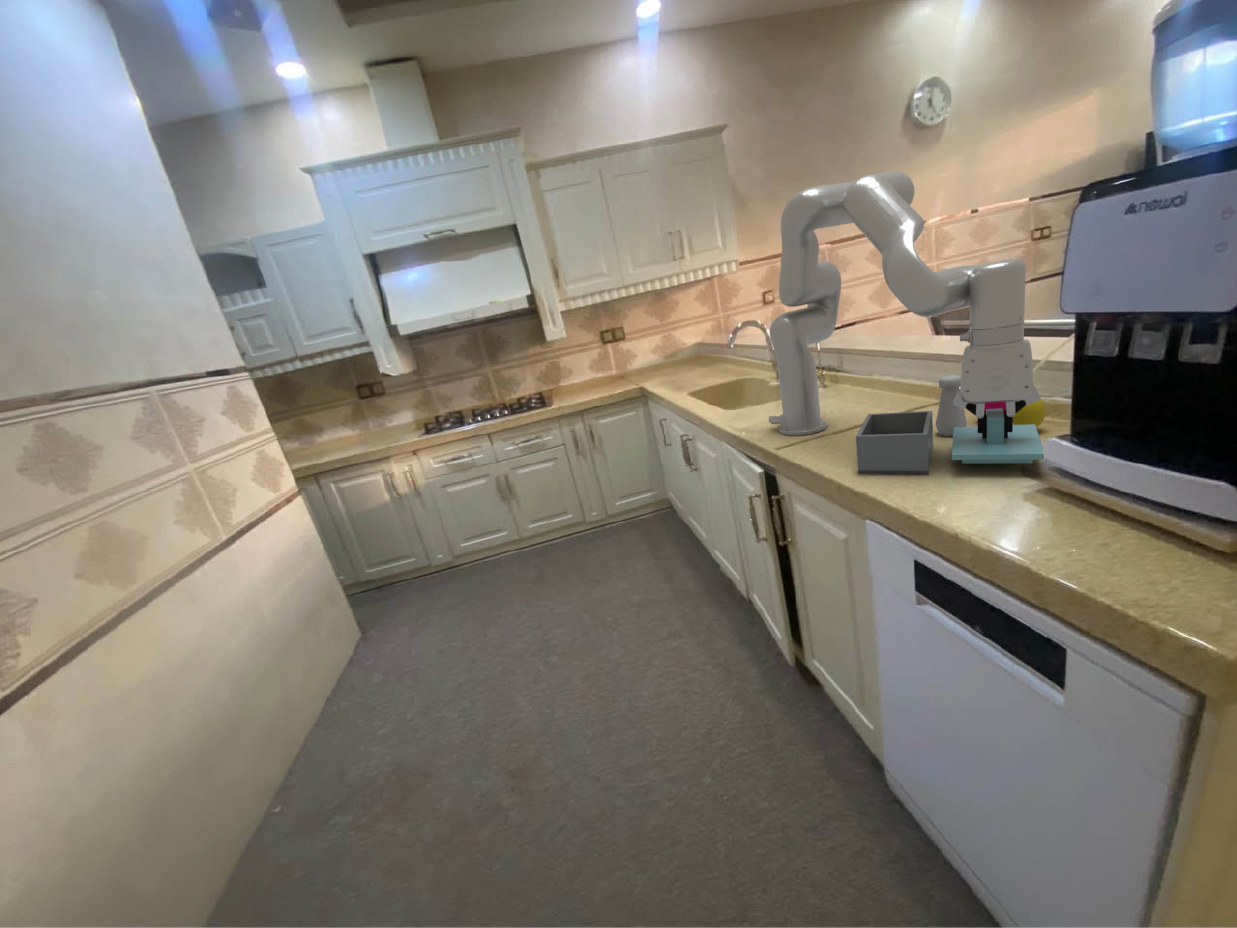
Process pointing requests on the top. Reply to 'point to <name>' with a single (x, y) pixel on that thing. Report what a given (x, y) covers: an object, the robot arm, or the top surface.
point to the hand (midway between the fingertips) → (994, 435)
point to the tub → (895, 443)
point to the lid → (997, 442)
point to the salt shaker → (949, 406)
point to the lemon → (1030, 414)
